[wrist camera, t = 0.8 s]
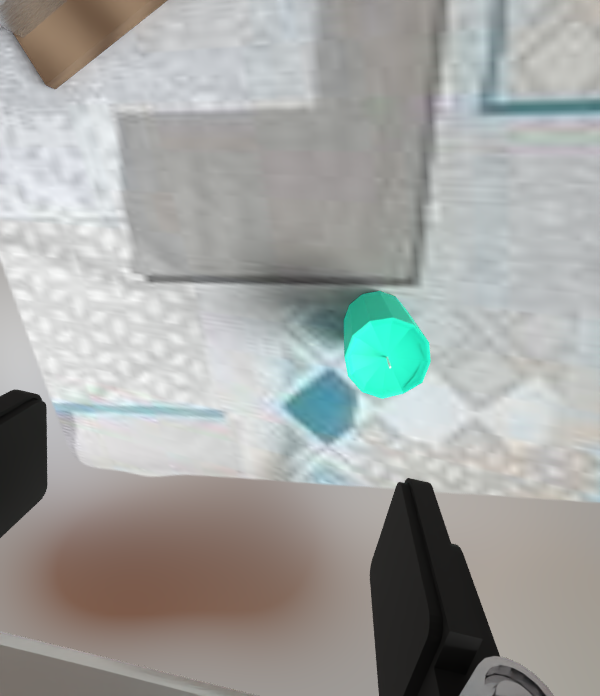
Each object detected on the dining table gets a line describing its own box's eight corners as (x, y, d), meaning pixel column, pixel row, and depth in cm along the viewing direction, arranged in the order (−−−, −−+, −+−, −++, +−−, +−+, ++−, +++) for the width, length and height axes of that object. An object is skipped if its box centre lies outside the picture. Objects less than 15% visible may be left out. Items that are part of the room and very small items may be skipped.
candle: (340, 349, 39) (340, 404, 28) (346, 288, 37) (349, 319, 26) (403, 355, 39) (429, 412, 27) (412, 293, 37) (444, 327, 26)
